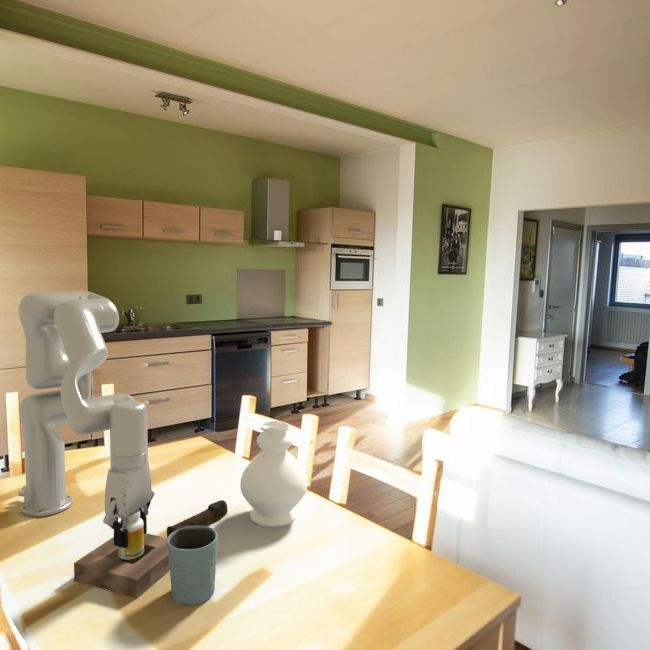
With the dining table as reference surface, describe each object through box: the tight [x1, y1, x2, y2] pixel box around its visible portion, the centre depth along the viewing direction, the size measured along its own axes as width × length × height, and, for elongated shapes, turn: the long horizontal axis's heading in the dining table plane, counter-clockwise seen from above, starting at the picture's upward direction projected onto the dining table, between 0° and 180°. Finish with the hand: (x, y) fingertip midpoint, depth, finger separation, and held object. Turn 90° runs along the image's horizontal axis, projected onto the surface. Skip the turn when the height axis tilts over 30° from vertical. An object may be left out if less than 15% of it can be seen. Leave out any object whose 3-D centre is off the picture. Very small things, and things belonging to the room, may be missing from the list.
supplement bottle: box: [118, 509, 144, 561], centre depth 118 cm, size 5×5×10 cm
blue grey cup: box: [166, 525, 219, 606], centre depth 110 cm, size 10×10×12 cm
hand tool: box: [166, 499, 228, 538], centre depth 138 cm, size 19×4×5 cm, turn 143°
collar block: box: [73, 533, 170, 599], centre depth 118 cm, size 16×16×4 cm
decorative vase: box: [240, 420, 308, 528], centre depth 144 cm, size 18×18×25 cm
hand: (130, 538), depth 118 cm, fingers closed on supplement bottle, 5 cm apart
